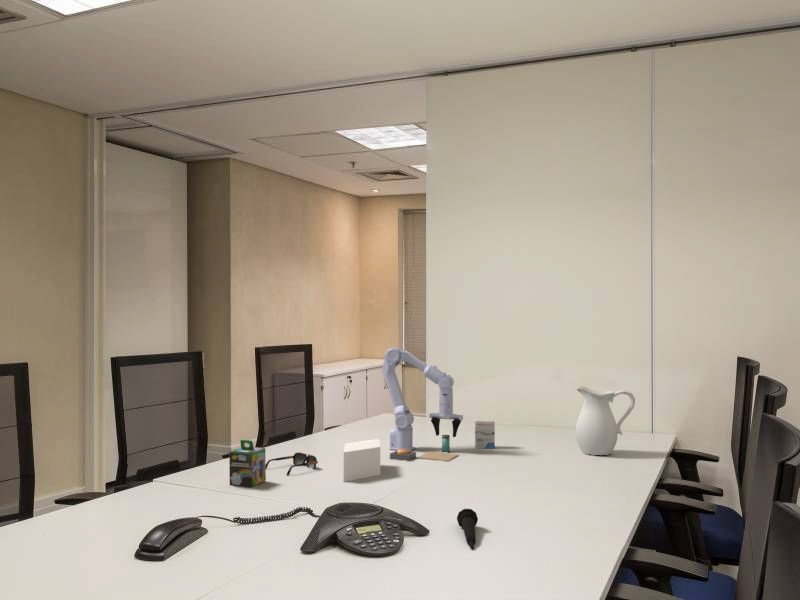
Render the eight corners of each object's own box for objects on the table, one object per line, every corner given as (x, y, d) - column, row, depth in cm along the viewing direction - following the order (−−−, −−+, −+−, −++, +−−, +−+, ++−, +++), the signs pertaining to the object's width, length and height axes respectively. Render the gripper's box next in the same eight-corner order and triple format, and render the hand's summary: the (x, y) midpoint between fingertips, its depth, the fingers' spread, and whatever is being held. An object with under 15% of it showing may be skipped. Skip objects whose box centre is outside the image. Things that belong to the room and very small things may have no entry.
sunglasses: (263, 470, 251) (264, 456, 251) (296, 464, 262) (296, 451, 262) (287, 476, 241) (287, 462, 241) (319, 470, 252) (319, 456, 252)
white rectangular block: (396, 467, 257) (396, 440, 257) (362, 484, 230) (362, 454, 231) (362, 463, 263) (362, 437, 263) (325, 479, 236) (325, 450, 236)
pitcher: (573, 455, 281) (573, 388, 282) (578, 448, 297) (578, 385, 298) (633, 460, 272) (633, 391, 273) (635, 453, 288) (635, 387, 289)
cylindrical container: (440, 452, 286) (441, 435, 286) (443, 450, 289) (443, 434, 289) (447, 452, 284) (448, 436, 285) (450, 451, 287) (450, 435, 287)
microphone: (479, 562, 167) (472, 527, 187) (486, 541, 166) (479, 508, 186) (458, 555, 167) (453, 520, 187) (465, 534, 166) (460, 501, 186)
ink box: (494, 446, 299) (494, 420, 299) (494, 448, 294) (494, 421, 294) (474, 446, 300) (475, 419, 300) (475, 448, 295) (475, 421, 295)
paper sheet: (417, 458, 273) (417, 457, 273) (429, 452, 285) (429, 451, 285) (448, 461, 267) (448, 460, 267) (458, 455, 279) (458, 454, 279)
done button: (394, 455, 272) (394, 450, 272) (399, 453, 276) (399, 448, 276) (406, 456, 269) (406, 451, 270) (411, 454, 274) (411, 449, 274)
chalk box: (266, 481, 233) (266, 438, 233) (252, 487, 224) (252, 442, 224) (243, 479, 236) (243, 436, 236) (228, 485, 227) (228, 441, 227)
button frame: (389, 459, 271) (389, 453, 271) (398, 455, 278) (398, 450, 278) (408, 460, 267) (408, 455, 268) (415, 457, 275) (415, 451, 275)
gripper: (465, 403, 288) (465, 435, 287) (433, 402, 294) (433, 433, 293) (459, 405, 281) (459, 438, 281) (427, 403, 287) (427, 435, 287)
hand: (446, 436), depth 287 cm, fingers open, 7 cm apart
